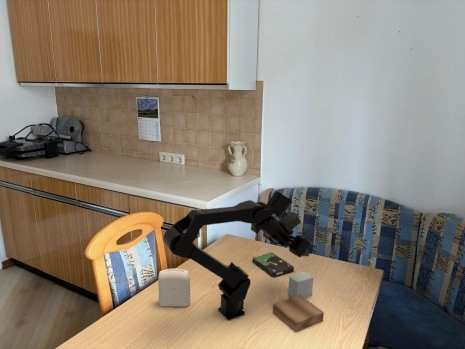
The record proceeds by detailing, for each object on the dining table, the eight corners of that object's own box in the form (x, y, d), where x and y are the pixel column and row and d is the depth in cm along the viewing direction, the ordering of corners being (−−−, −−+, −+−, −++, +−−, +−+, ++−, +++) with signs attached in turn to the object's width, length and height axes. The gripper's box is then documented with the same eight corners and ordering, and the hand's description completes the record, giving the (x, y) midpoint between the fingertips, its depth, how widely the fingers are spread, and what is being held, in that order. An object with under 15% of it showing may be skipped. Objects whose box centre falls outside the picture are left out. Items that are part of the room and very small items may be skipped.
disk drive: (294, 273, 140) (271, 257, 152) (294, 266, 139) (271, 251, 151) (273, 279, 134) (251, 263, 147) (273, 273, 134) (251, 256, 146)
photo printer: (157, 307, 115) (156, 272, 112) (160, 299, 119) (159, 265, 116) (189, 308, 115) (189, 273, 112) (191, 300, 119) (191, 266, 116)
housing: (296, 301, 120) (297, 282, 118) (287, 294, 124) (289, 276, 122) (311, 295, 124) (313, 277, 122) (303, 289, 127) (304, 271, 126)
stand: (295, 332, 104) (296, 323, 104) (272, 312, 113) (273, 304, 113) (322, 320, 110) (323, 312, 109) (299, 302, 119) (299, 294, 118)
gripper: (305, 214, 107) (331, 239, 115) (268, 200, 123) (294, 222, 131) (285, 245, 105) (313, 268, 113) (250, 226, 121) (277, 248, 129)
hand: (299, 250), depth 121 cm, fingers open, 9 cm apart
